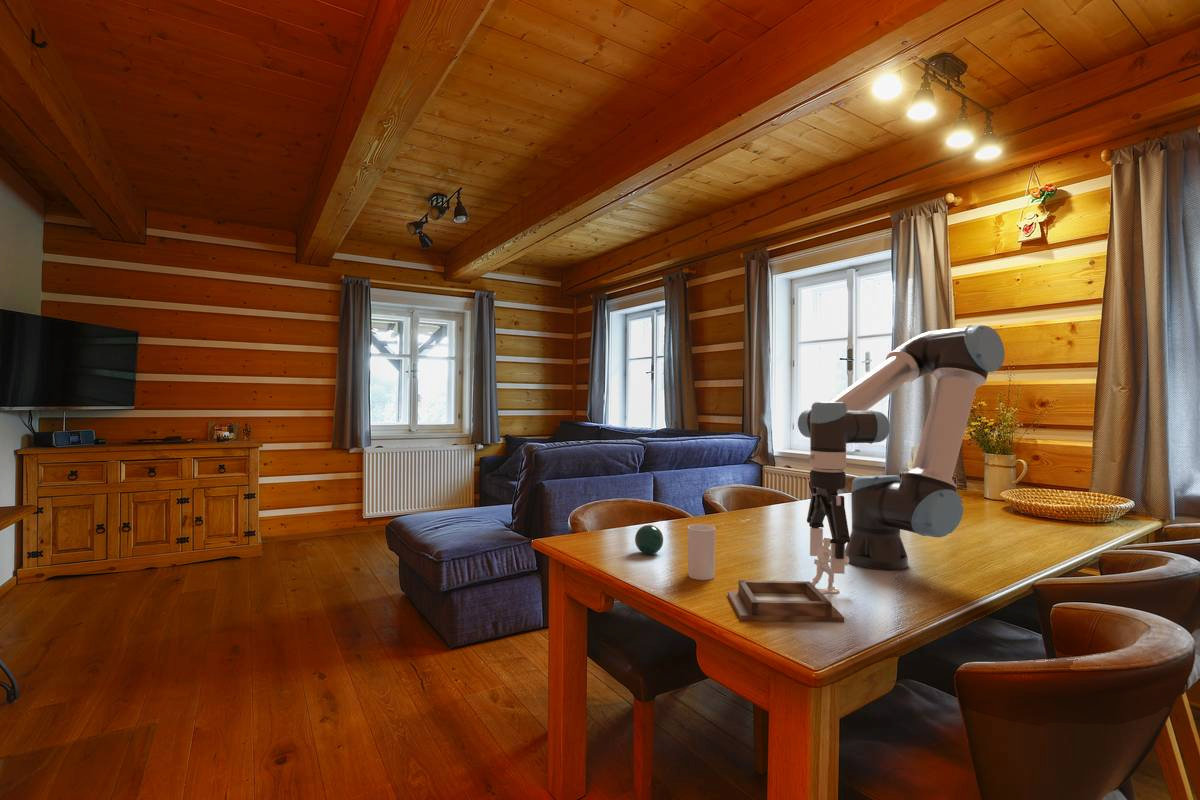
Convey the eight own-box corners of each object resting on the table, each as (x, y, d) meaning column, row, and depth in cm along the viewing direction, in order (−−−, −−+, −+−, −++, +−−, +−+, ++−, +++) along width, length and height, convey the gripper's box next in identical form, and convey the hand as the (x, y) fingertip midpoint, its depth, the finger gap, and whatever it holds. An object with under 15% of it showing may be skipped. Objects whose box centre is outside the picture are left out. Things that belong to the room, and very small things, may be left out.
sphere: (629, 554, 158) (629, 526, 158) (644, 548, 164) (644, 520, 164) (654, 559, 153) (654, 529, 153) (668, 552, 160) (668, 524, 160)
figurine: (803, 590, 128) (803, 537, 128) (834, 585, 132) (834, 534, 132) (819, 597, 124) (819, 542, 124) (850, 591, 128) (851, 538, 128)
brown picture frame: (819, 597, 124) (819, 581, 124) (844, 622, 110) (844, 604, 110) (727, 595, 125) (727, 579, 125) (740, 620, 111) (740, 602, 111)
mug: (717, 581, 135) (717, 530, 135) (688, 580, 136) (688, 530, 136) (711, 568, 145) (711, 521, 145) (685, 567, 146) (685, 521, 146)
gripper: (794, 463, 141) (793, 549, 141) (830, 476, 116) (829, 580, 116) (825, 464, 140) (823, 549, 140) (868, 477, 115) (866, 582, 115)
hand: (826, 564), depth 128 cm, fingers open, 13 cm apart
